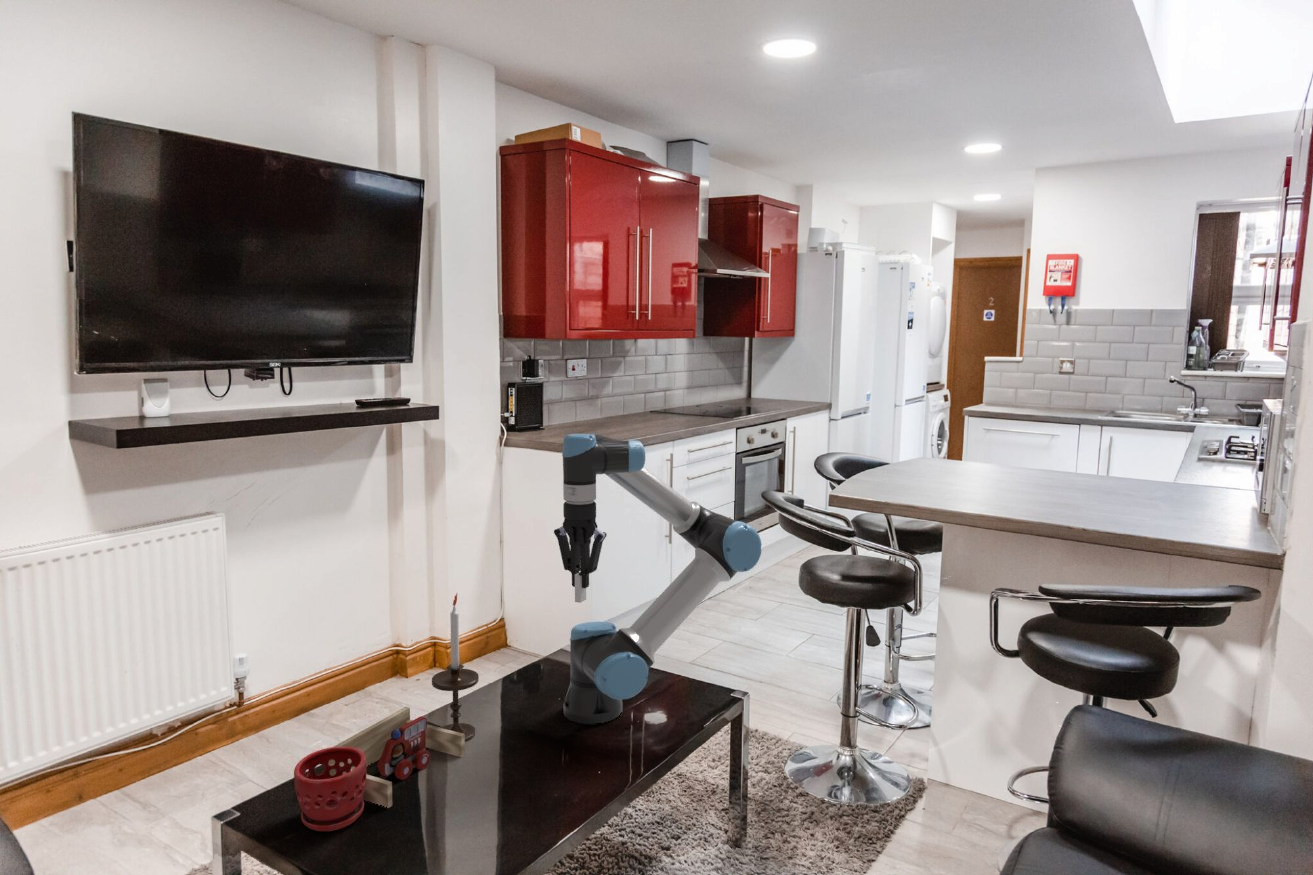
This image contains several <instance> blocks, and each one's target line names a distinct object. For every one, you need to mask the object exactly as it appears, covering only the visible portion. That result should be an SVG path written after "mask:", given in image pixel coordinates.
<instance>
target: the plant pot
mask: <svg viewBox="0 0 1313 875" xmlns="http://www.w3.org/2000/svg"><path fill="white" fill-rule="evenodd" d="M348 759H351V761H352V762H351V763H349V762H348ZM329 760H335V764H334V765H329V764H328V761H329ZM341 762H343V763H344V766H340V763H341ZM319 765H321V766H322V765H323V768H324V769H323V771H322V773H319V774H316V773H315V770H316V768H317V766H319ZM352 767H356V768H355V769H353V770H352V771H351V768H352ZM293 769H294V770H293V779H294V789H295V795H296V798H297V802H298V804H299V807H300V809H301V812H300V813H301V815H300V818H301V822H302V823H303V824H304V826H306V827H307V828H308V829H310V830H312V831H317V832H332V831H337V830H341V829H343V828H346V827H347V826H350V825H351V824H352V823H355V821H357V819H358V818H359V817H360V816H361V815H362V814H363V811H364V808H365V801H364V800H363V799H362V797H363V794H364V791H365V786H366V776H367V775H368V774H367V767H366V757H365V755H364V753H363V752H362V751H360V750H359V749H356V748H353V747H334V746H332V747H326V748H321V749H319V750H316V751H313V752H312V753H309V754H308V755H306V756H304V757H302V758H301V760H299V762H297V763H296V765H295V767H294V768H293ZM331 769H335V770H336V774H335V775H330V770H331ZM307 771H308V773H307ZM343 772H346V773H347V774H344V775H343ZM306 773H307V774H306ZM366 774H367V775H366Z"/></svg>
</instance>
